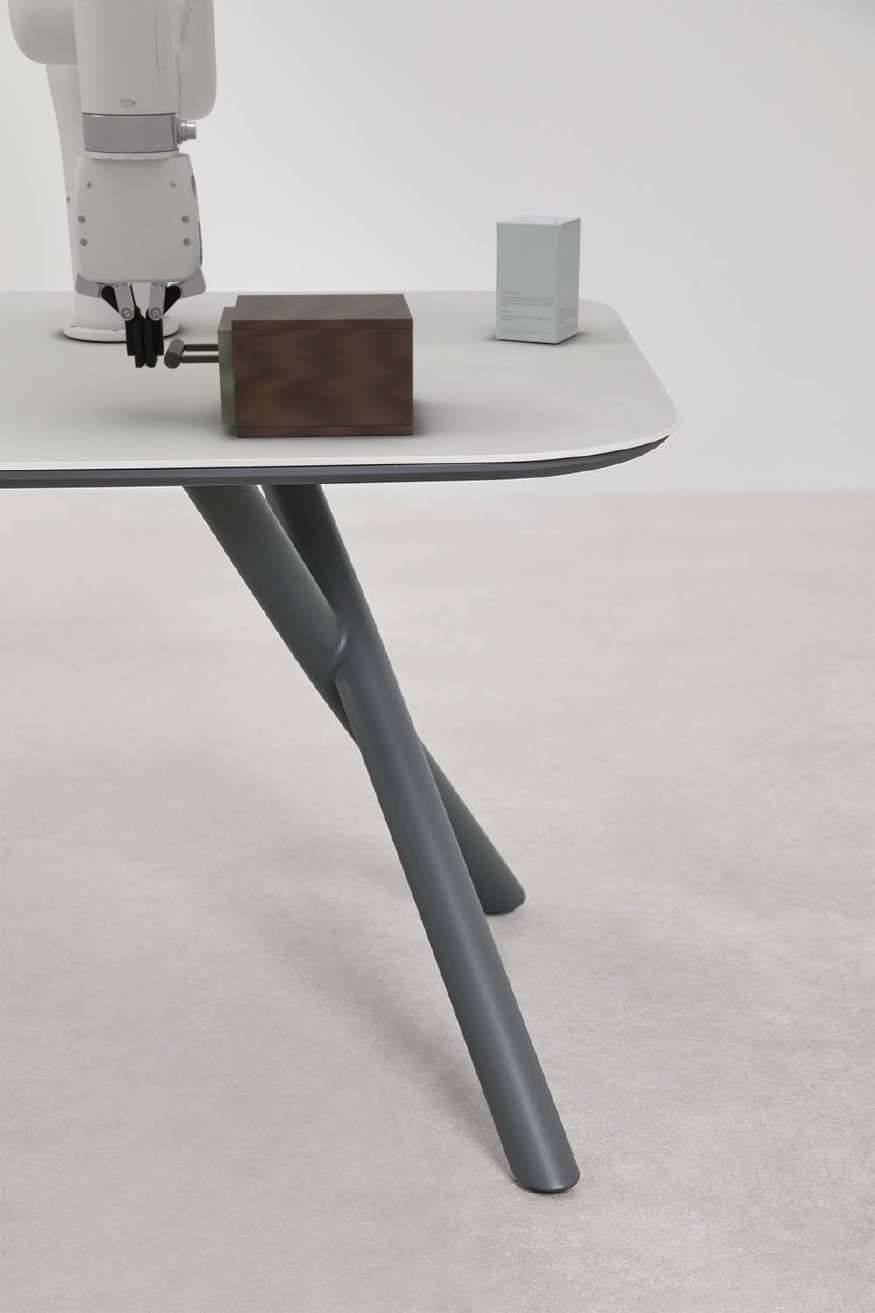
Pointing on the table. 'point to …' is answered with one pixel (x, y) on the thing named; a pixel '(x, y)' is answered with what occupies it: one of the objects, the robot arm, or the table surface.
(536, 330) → the white packaging box
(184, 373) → the table surface
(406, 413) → the cabinet
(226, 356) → the drawer
